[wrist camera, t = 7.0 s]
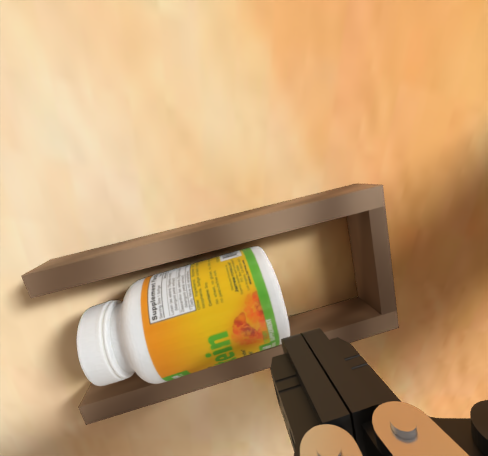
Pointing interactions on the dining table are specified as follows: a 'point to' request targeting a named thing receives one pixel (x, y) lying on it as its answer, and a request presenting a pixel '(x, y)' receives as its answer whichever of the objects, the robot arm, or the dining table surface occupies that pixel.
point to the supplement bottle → (185, 320)
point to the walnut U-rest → (225, 235)
